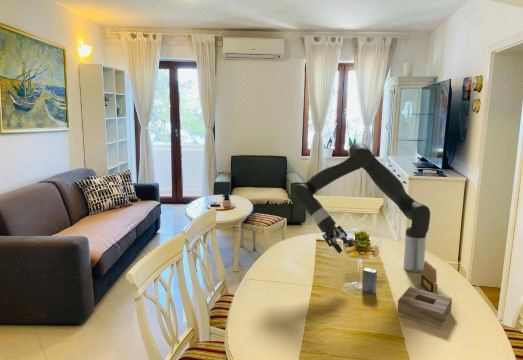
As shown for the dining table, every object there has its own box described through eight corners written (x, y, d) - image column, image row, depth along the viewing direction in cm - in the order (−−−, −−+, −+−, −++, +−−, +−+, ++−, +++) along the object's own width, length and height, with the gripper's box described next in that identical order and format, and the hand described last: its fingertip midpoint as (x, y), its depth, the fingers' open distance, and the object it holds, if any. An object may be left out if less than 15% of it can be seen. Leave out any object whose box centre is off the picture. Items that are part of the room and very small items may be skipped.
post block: (408, 300, 158) (409, 286, 157) (450, 312, 149) (452, 298, 148) (397, 314, 148) (398, 300, 147) (441, 328, 138) (443, 313, 137)
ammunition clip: (436, 296, 162) (438, 269, 159) (432, 296, 162) (434, 269, 159) (424, 284, 172) (426, 259, 170) (420, 284, 172) (422, 259, 170)
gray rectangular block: (364, 288, 169) (365, 267, 167) (375, 292, 166) (377, 270, 164) (362, 291, 166) (363, 269, 164) (373, 294, 163) (374, 272, 161)
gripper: (320, 218, 167) (343, 249, 162) (335, 211, 178) (357, 240, 173) (310, 228, 171) (332, 258, 166) (325, 220, 182) (346, 249, 177)
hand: (345, 249), depth 170 cm, fingers open, 8 cm apart
